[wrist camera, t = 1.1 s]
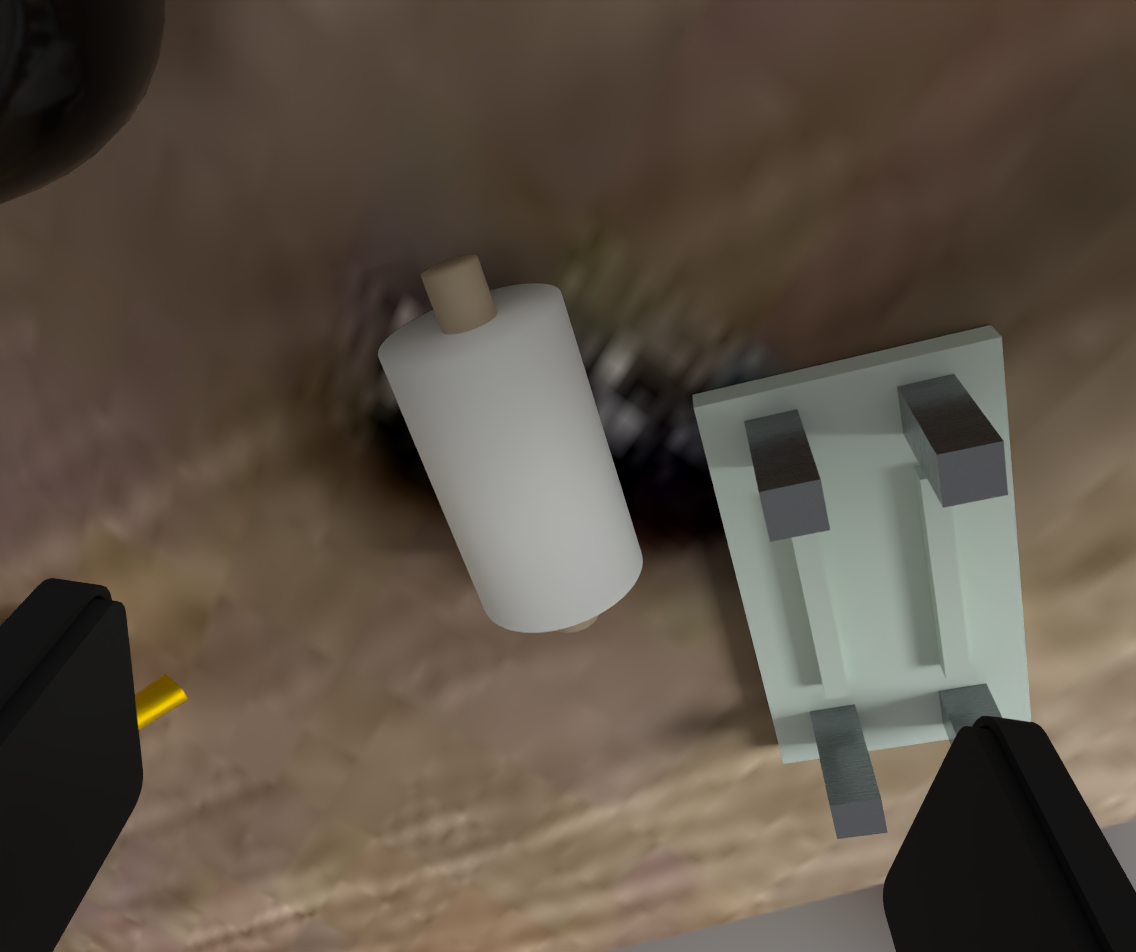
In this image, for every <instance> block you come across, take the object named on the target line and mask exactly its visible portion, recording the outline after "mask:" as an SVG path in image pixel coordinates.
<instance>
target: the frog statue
mask: <svg viewBox="0 0 1136 952" xmlns="http://www.w3.org/2000/svg"><path fill="white" fill-rule="evenodd" d="M164 23H165V0H0V204H2V203H5V202H7V201H10V200H12V199H15V198H18V197H20V196H23V195H25V194H28V193H30V192H33V191H36V190H38V189H40V188H42V187H44V186H46V185H48V184H50V183H51V182H53V181H55V180H57V179H59V178H61V177H63V176H65V175H67V174H69V173H70V172H71V171H73V170H74V169H76V168H77V167H78V166H80V165H81V164H83V163H84V162H85V161H87V160H88V159H90V158H91V157H92V156H94V155H95V154H96V153H97V152H98V151H99V150H100V149H101V148H102V147H103V146H104V145H105V144H106V143H107V142H108V141H109V140H110V139H111V138H112V137H113V136H114V135H115V134H116V133H117V132H118V131H119V130H120V129H121V128H122V127H123V126H124V125H125V124H126V123H127V122H128V121H129V119H130V118H131V116H132V115H133V113H134V112H135V110H136V108H137V107H138V105H139V104H140V102H141V101H142V99H143V98H144V96H145V94H146V91H147V89H148V86H149V84H150V81H151V78H152V76H153V73H154V70H155V68H156V65H157V61H158V58H159V54H160V49H161V43H162V36H163V30H164Z"/></svg>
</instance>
